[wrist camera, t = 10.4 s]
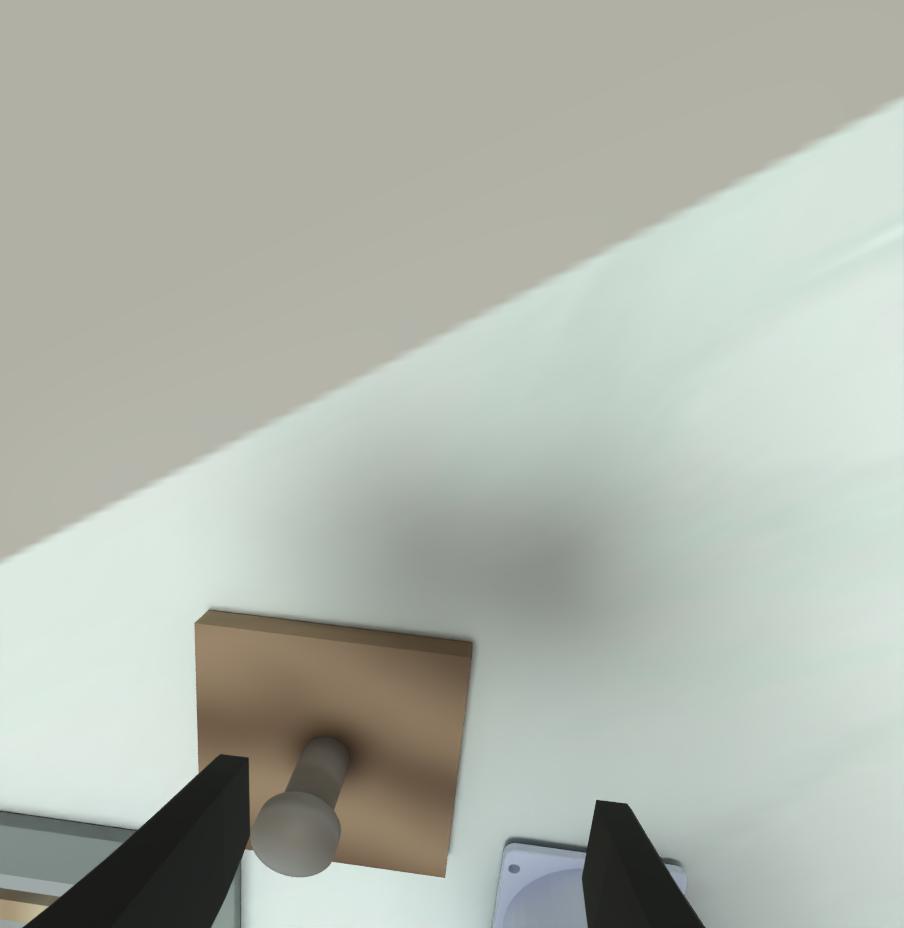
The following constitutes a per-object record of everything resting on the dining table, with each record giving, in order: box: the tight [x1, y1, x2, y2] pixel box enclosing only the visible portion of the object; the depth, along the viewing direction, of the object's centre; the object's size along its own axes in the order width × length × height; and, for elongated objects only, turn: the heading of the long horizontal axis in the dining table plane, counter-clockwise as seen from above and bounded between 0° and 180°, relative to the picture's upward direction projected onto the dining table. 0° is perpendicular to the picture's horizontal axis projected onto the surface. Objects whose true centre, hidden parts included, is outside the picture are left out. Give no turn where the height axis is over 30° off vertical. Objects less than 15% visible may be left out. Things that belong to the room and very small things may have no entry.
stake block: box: [195, 610, 472, 878], centre depth 19 cm, size 11×11×5 cm
